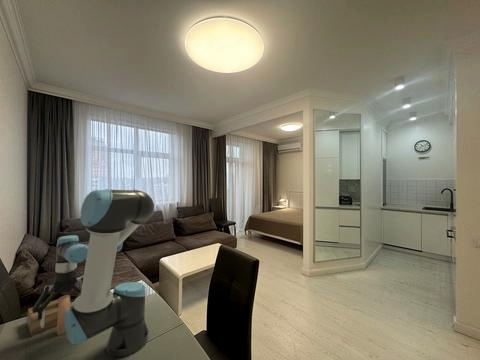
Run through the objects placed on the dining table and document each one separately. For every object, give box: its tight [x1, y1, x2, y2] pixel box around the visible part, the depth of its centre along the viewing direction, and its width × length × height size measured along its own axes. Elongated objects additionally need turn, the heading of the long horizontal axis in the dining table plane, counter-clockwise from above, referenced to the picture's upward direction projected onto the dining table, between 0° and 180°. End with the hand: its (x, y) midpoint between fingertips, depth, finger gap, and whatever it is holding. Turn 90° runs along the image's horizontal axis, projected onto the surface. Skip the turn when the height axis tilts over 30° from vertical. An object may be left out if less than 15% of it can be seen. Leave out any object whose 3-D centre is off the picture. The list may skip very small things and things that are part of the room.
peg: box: [56, 294, 71, 336], centre depth 89 cm, size 4×4×15 cm
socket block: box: [26, 298, 74, 338], centre depth 95 cm, size 14×14×7 cm
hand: (63, 318), depth 89 cm, fingers open, 13 cm apart
